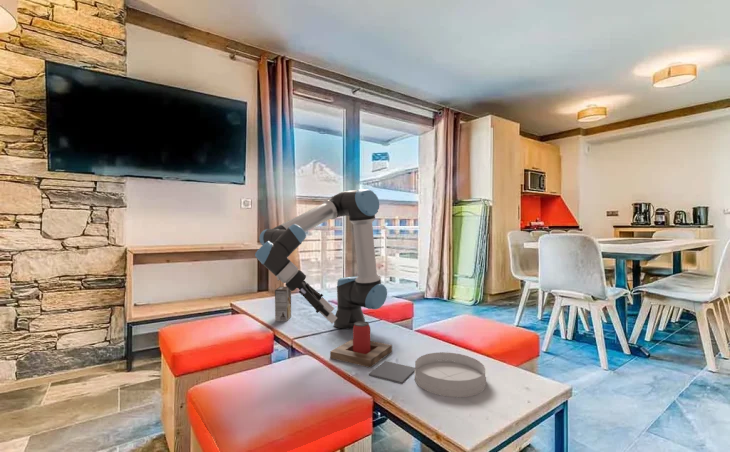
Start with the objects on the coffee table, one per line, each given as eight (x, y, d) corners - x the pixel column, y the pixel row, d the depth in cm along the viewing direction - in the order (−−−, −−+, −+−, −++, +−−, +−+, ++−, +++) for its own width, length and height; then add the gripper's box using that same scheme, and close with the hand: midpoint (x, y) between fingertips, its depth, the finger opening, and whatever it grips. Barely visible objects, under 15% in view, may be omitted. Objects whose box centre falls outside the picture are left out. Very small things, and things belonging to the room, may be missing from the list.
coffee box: (279, 316, 188) (279, 286, 187) (291, 316, 188) (291, 286, 187) (274, 321, 179) (274, 289, 178) (287, 321, 178) (287, 289, 178)
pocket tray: (354, 343, 146) (354, 337, 146) (391, 351, 137) (391, 345, 137) (330, 357, 131) (330, 351, 131) (370, 367, 123) (370, 360, 123)
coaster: (385, 362, 127) (385, 361, 127) (416, 369, 121) (416, 367, 121) (368, 375, 117) (368, 373, 117) (401, 383, 111) (401, 382, 111)
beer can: (368, 358, 130) (368, 326, 130) (351, 357, 132) (351, 325, 132) (371, 352, 137) (371, 321, 137) (355, 350, 138) (355, 320, 138)
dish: (400, 375, 117) (400, 360, 117) (451, 361, 128) (451, 347, 128) (447, 405, 98) (447, 387, 98) (501, 386, 109) (501, 370, 109)
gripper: (286, 278, 141) (324, 314, 144) (282, 291, 117) (328, 333, 120) (299, 264, 142) (337, 300, 145) (298, 274, 118) (343, 317, 120)
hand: (333, 315), depth 132 cm, fingers open, 13 cm apart
